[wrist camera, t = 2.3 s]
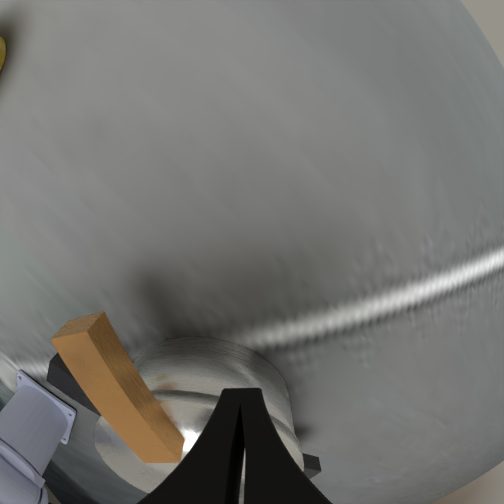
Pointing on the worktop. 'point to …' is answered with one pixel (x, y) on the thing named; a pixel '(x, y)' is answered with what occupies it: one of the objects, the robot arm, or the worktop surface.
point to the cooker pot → (199, 376)
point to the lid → (139, 407)
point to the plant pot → (2, 52)
